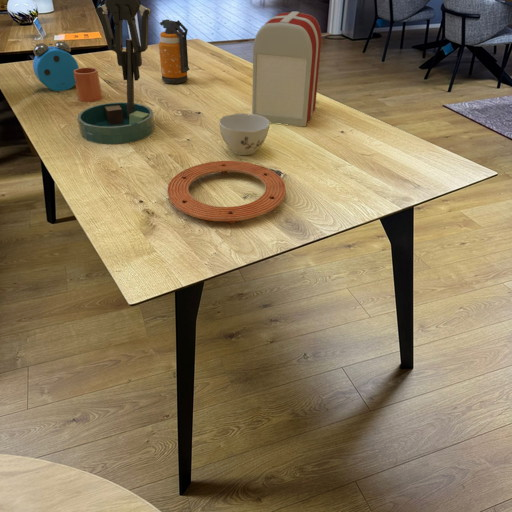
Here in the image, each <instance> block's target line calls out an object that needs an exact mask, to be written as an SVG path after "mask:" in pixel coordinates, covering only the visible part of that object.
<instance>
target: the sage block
mask: <svg viewBox="0 0 512 512" xmlns="http://www.w3.org/2000/svg"><path fill="white" fill-rule="evenodd" d="M149 115H150V114H148V113H144V112H140V111H135V112H133V113H131V114H129V125H130V124H134V123H137V122H140V121H142V120H144V119H146V118H147V117H148V116H149Z"/></svg>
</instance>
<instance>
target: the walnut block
mask: <svg viewBox="0 0 512 512" xmlns="http://www.w3.org/2000/svg"><path fill="white" fill-rule="evenodd" d="M105 112H106V118H107V121H108V123H109V124H110V125H114V124H121V123H124V119H123V112H122V109H121V107H120V106H119V105H114V106H106V107H105Z"/></svg>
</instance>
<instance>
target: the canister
mask: <svg viewBox="0 0 512 512" xmlns="http://www.w3.org/2000/svg"><path fill="white" fill-rule="evenodd" d="M159 25H160V26H162V28H163V29H164V31H162V32H160V34H159V42H158V50H159V61H160V70H161V81H162V82H165V83H167V84H173V85H178V84H182V83H184V82H186V81H188V78H189V77H188V71H190V67H189V56H188V39H187V36H188V31H189V30H188V28H187V27H185V26H184V24H183V23H182V22H181V21H180V20H177V21H176V20H170V19H162V20H161V21H160V22H159Z"/></svg>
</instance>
